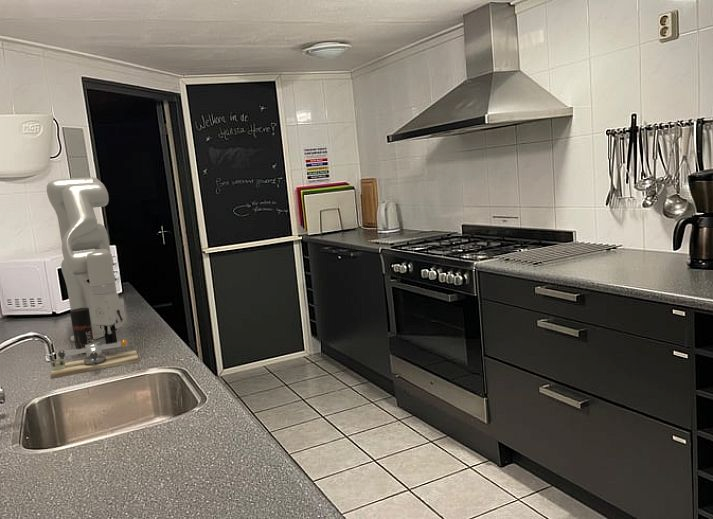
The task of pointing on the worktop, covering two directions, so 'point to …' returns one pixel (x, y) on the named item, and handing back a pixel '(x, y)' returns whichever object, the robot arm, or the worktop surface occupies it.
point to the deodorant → (81, 327)
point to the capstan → (93, 351)
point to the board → (79, 366)
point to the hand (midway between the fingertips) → (111, 344)
